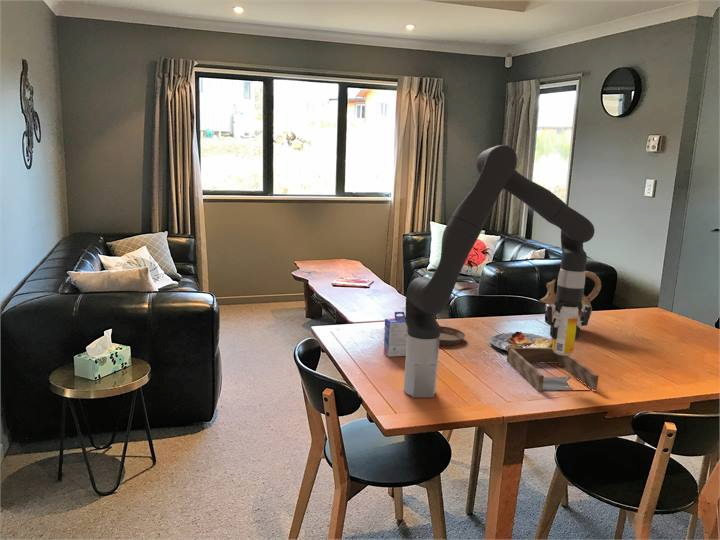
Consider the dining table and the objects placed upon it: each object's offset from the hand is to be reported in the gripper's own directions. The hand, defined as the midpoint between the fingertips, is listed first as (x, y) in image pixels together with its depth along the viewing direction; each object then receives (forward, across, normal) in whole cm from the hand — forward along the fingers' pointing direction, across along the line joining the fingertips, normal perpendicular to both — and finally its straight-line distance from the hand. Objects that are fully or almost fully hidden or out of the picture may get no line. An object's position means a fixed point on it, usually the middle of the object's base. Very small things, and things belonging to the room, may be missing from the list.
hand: (564, 338), depth 176 cm
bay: (+15, 0, +7) cm, 16 cm away
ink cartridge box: (+15, -45, +27) cm, 55 cm away
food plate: (+15, +3, +34) cm, 37 cm away
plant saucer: (+15, -26, +43) cm, 52 cm away
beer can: (+5, 0, 0) cm, 5 cm away
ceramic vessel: (+15, +30, +57) cm, 66 cm away
